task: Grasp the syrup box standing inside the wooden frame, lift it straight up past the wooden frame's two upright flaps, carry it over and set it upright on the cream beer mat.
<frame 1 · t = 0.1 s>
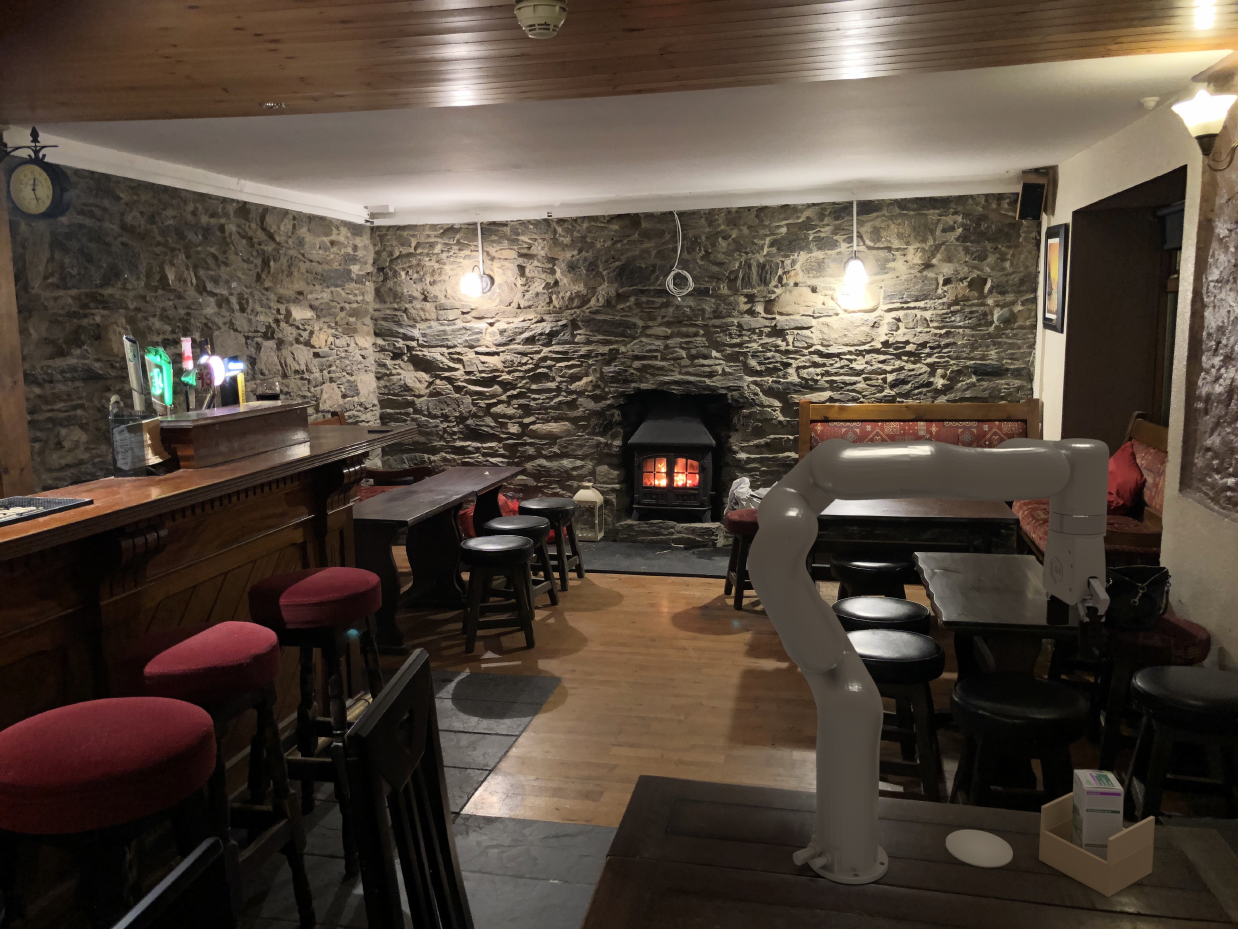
hand: (1072, 635, 132), 37 cm above the table, tool pointing down, fingers open, 9 cm apart
beer mat: (978, 849, 142), on the table
wooden frame: (1094, 865, 137), on the table
syrup box: (1094, 867, 137), resting in wooden frame
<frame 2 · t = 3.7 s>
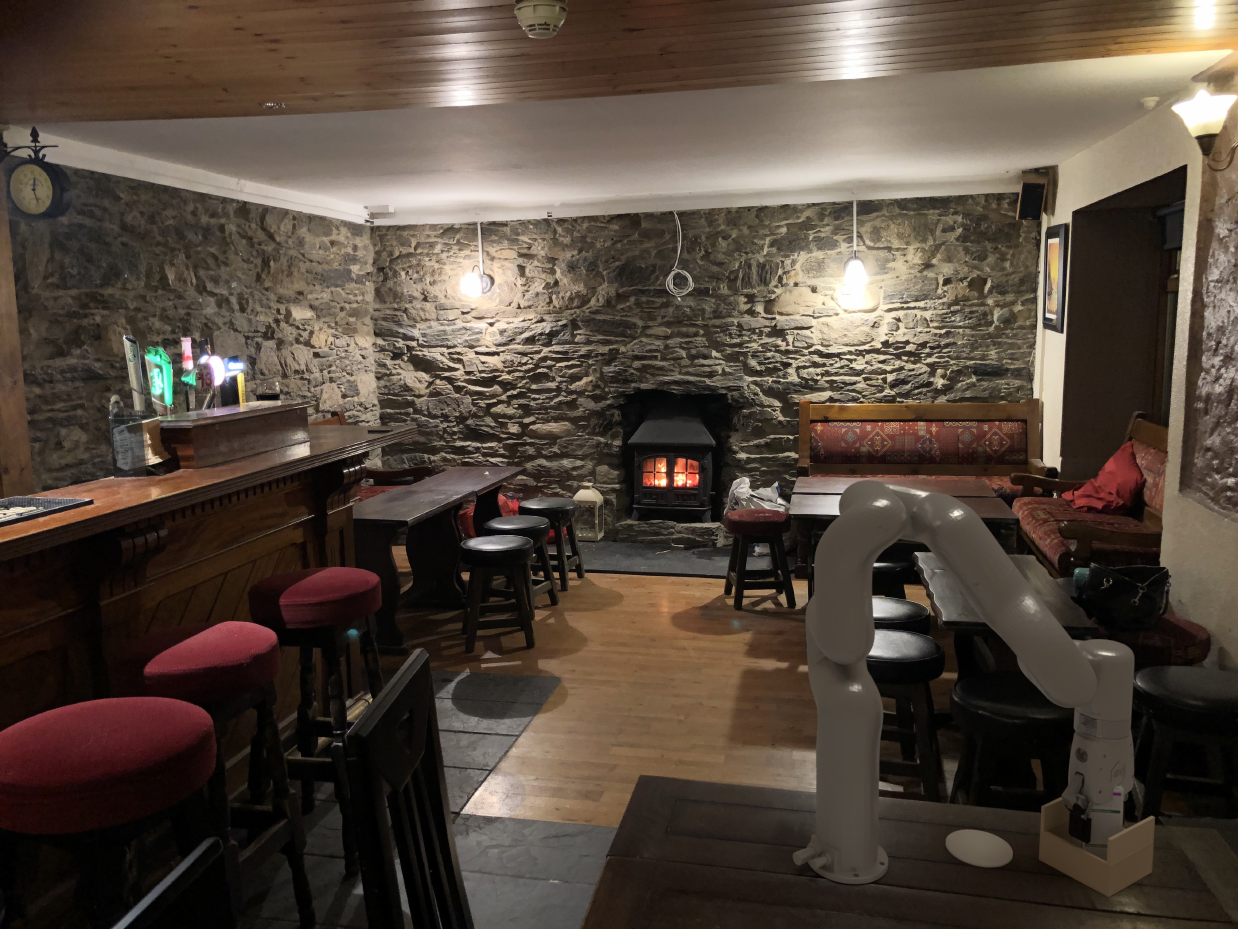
hand: (1096, 829, 136), 6 cm above the table, tool pointing down, fingers closed on syrup box, 8 cm apart
syrup box: (1094, 867, 137), resting in wooden frame, touching gripper
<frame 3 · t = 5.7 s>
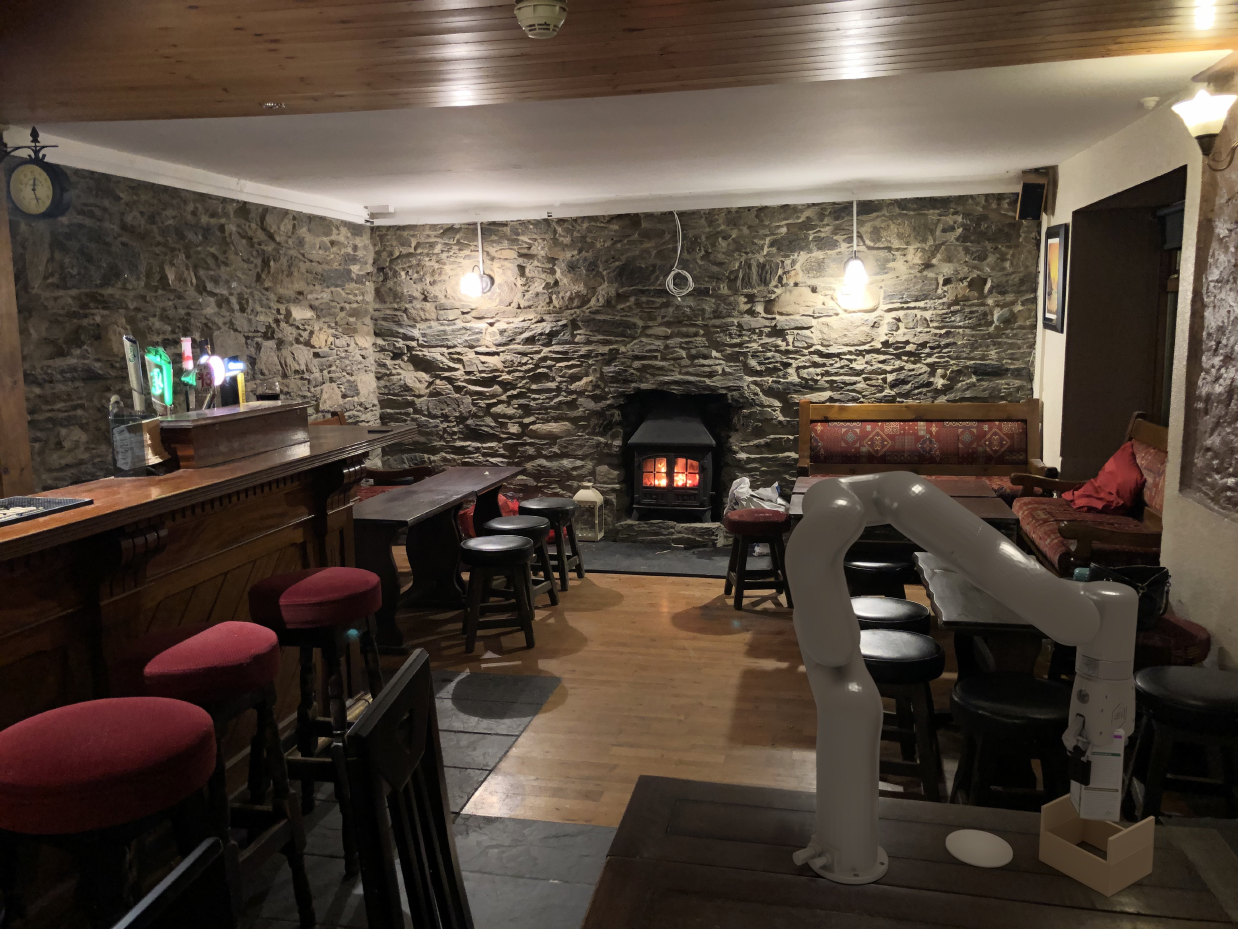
hand: (1095, 774, 135), 15 cm above the table, tool pointing down, fingers closed on syrup box, 8 cm apart
syrup box: (1093, 812, 136), point 9 cm above the table, touching gripper
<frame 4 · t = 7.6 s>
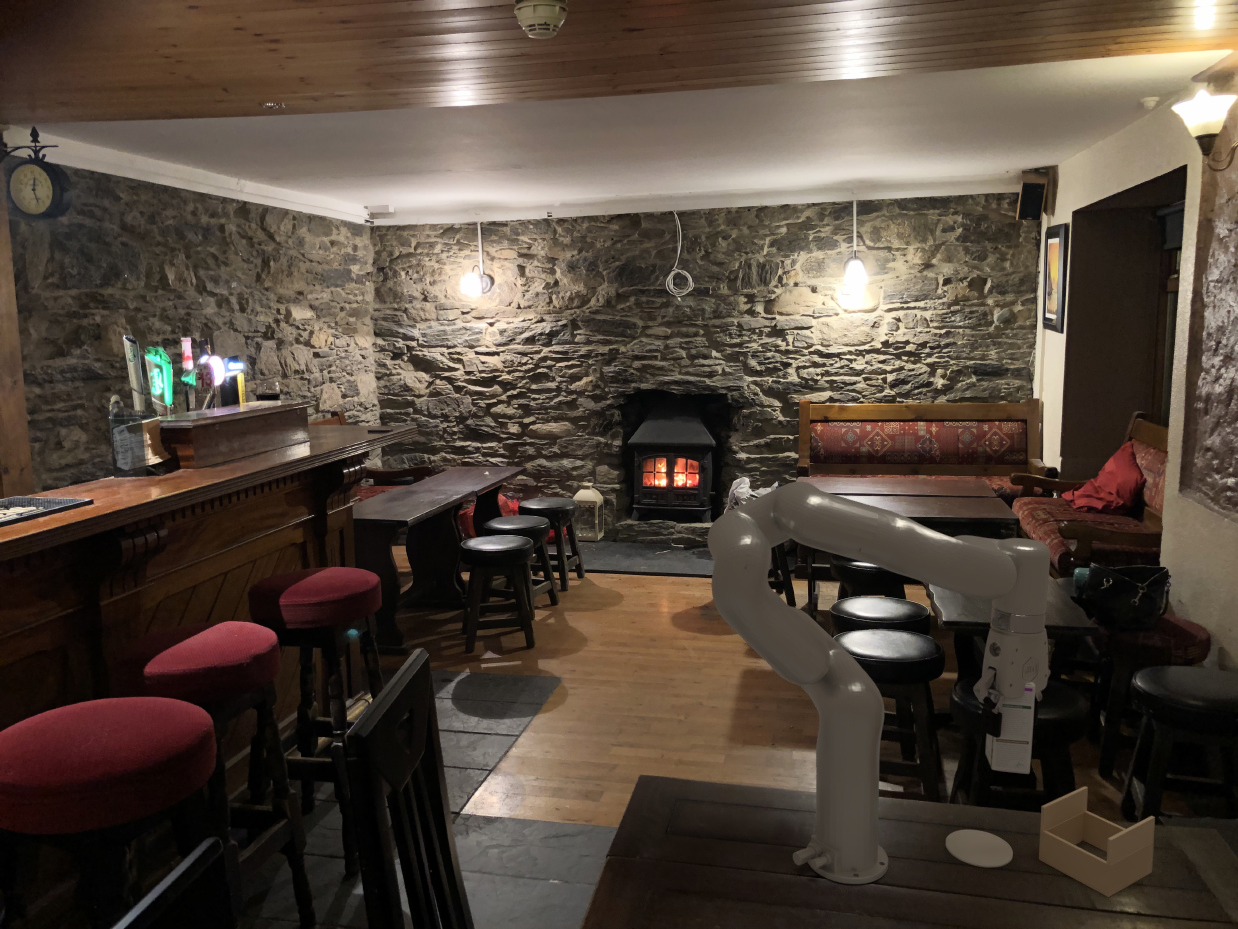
hand: (1009, 728, 138), 21 cm above the table, tool pointing down, fingers closed on syrup box, 8 cm apart
syrup box: (1006, 765, 139), point 15 cm above the table, touching gripper
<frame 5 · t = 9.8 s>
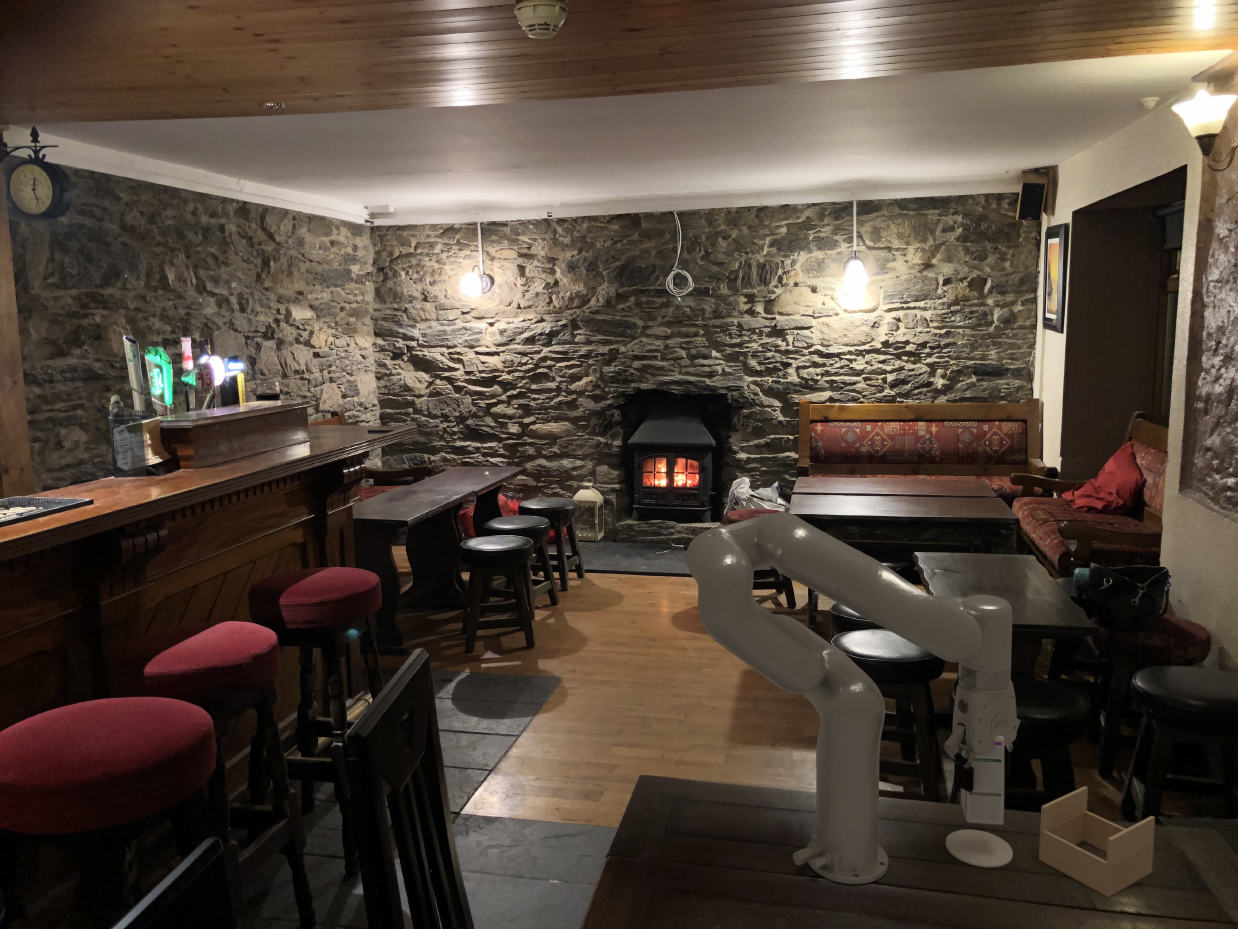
hand: (981, 779, 141), 12 cm above the table, tool pointing down, fingers closed on syrup box, 8 cm apart
syrup box: (981, 816, 142), point 6 cm above the table, touching gripper
when the fingers open (8 cm above the table, at t = 11.7 s): syrup box drops 1 cm, resting on beer mat.
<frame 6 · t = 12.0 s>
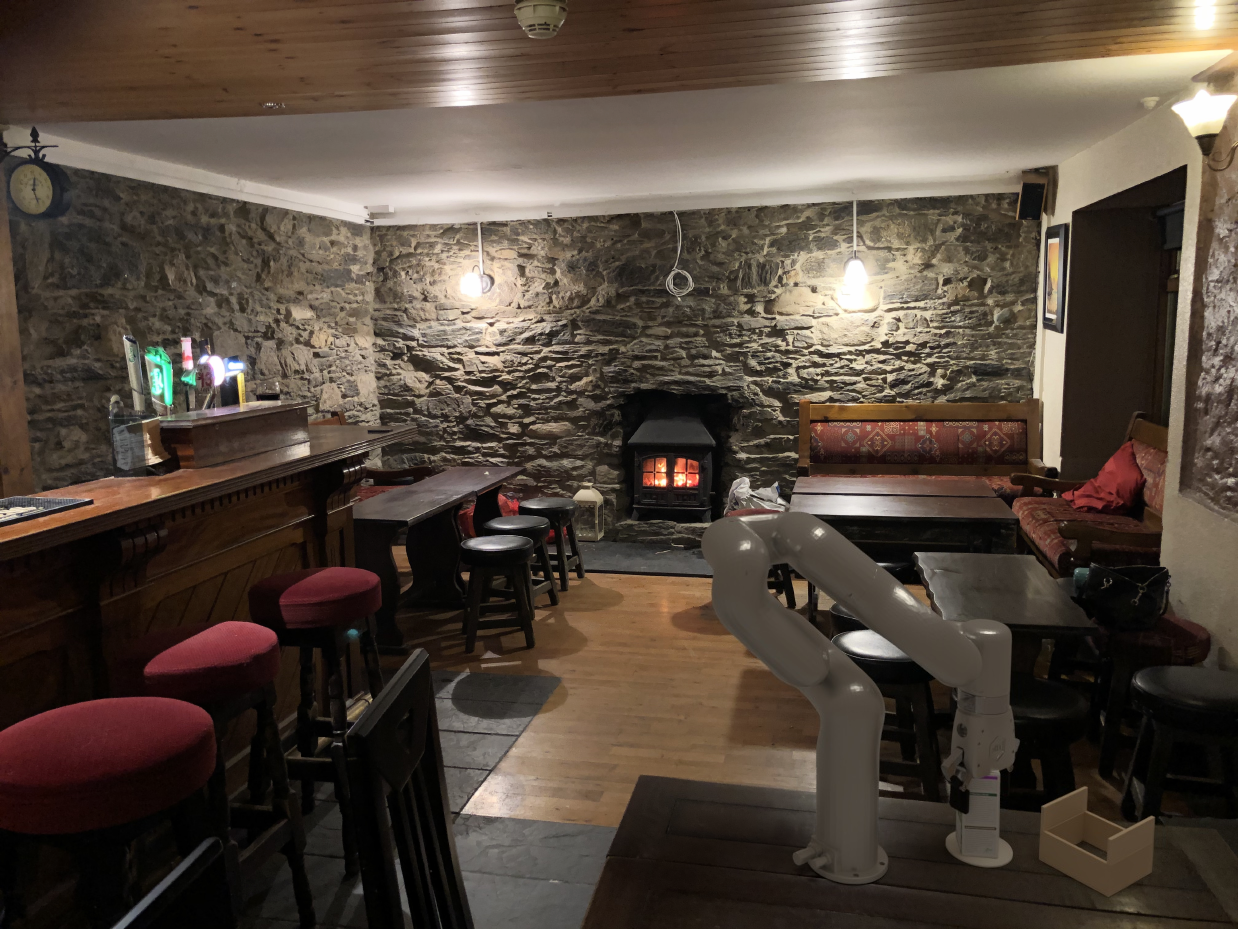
hand: (979, 801, 141), 8 cm above the table, tool pointing down, fingers open, 9 cm apart
syrup box: (976, 848, 142), resting on beer mat, touching gripper
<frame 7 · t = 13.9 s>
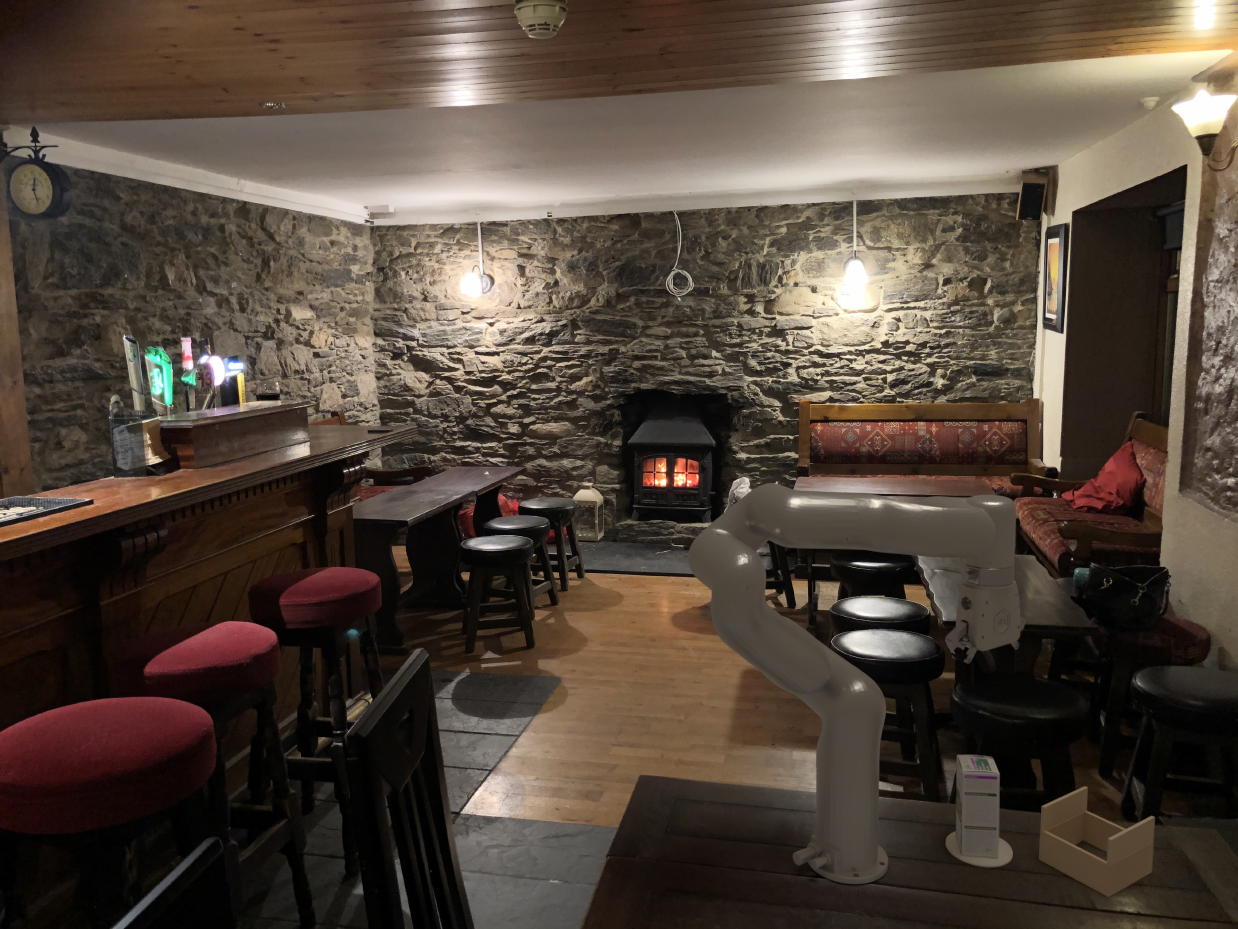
hand: (985, 677, 142), 27 cm above the table, tool pointing down, fingers open, 9 cm apart
syrup box: (976, 848, 142), resting on beer mat
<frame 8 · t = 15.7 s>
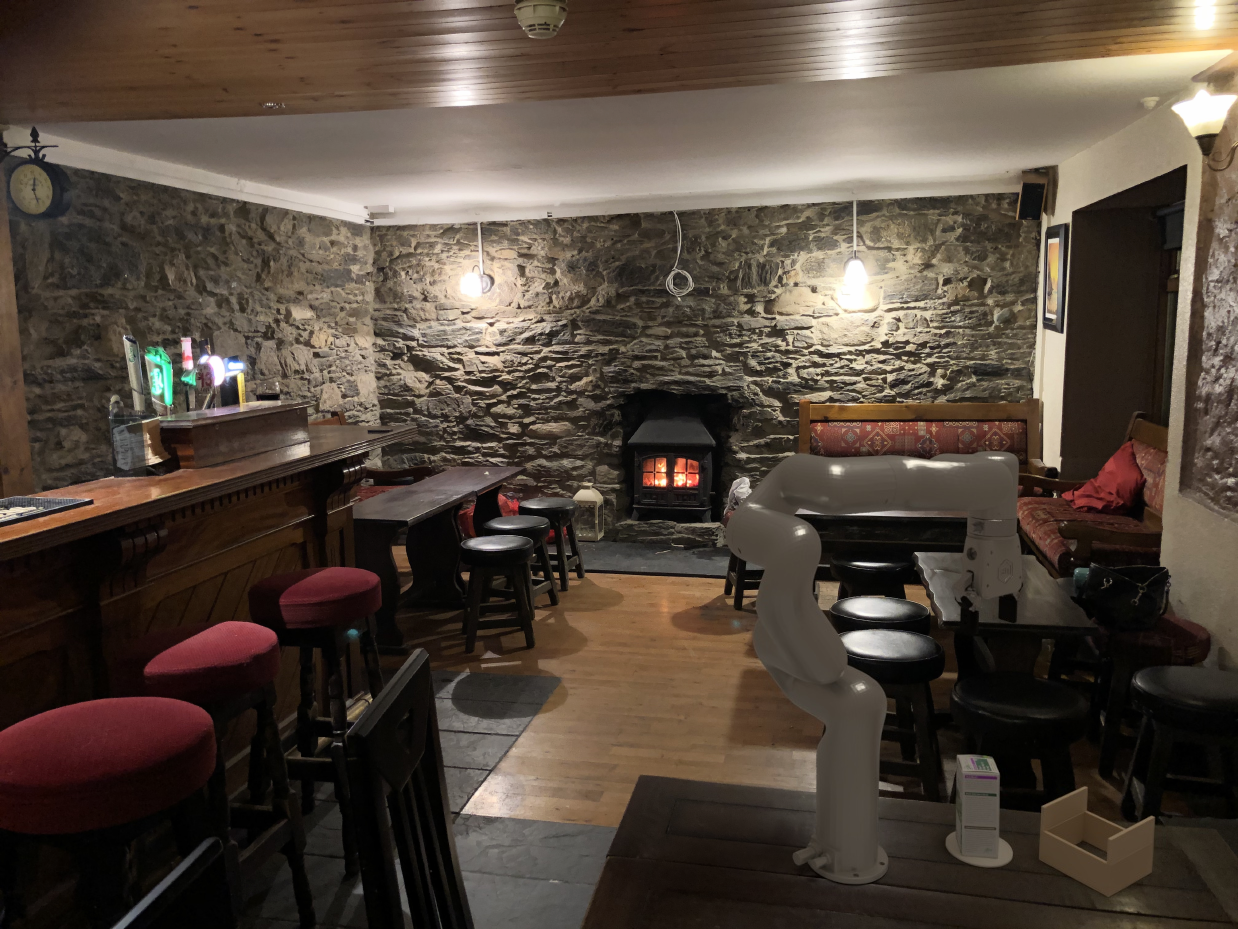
hand: (988, 626, 148), 33 cm above the table, tool pointing down, fingers open, 9 cm apart
nothing on the table moved.
at the end: syrup box inside the target area on the beer mat (0.6 cm from its centre), point 0.2 cm above the beer mat's base; syrup box tilted 0°; the gripper is holding nothing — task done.
